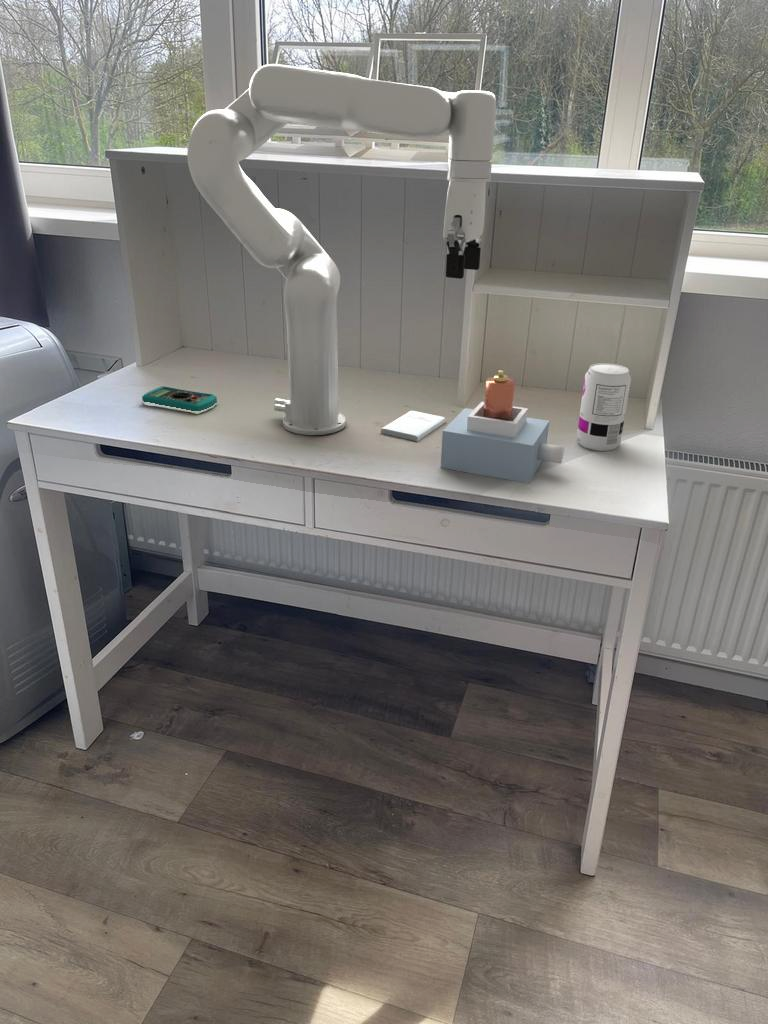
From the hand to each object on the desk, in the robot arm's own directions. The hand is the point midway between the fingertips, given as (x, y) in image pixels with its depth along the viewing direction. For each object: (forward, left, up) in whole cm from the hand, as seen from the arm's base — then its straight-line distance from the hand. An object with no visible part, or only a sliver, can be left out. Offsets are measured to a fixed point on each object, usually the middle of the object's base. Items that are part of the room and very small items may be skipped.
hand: (462, 273), depth 143 cm
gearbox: (+14, -13, -30) cm, 36 cm away
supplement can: (+28, +4, -31) cm, 42 cm away
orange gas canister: (+12, -13, -23) cm, 29 cm away
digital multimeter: (-57, -11, -31) cm, 66 cm away
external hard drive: (-7, -3, -31) cm, 32 cm away
